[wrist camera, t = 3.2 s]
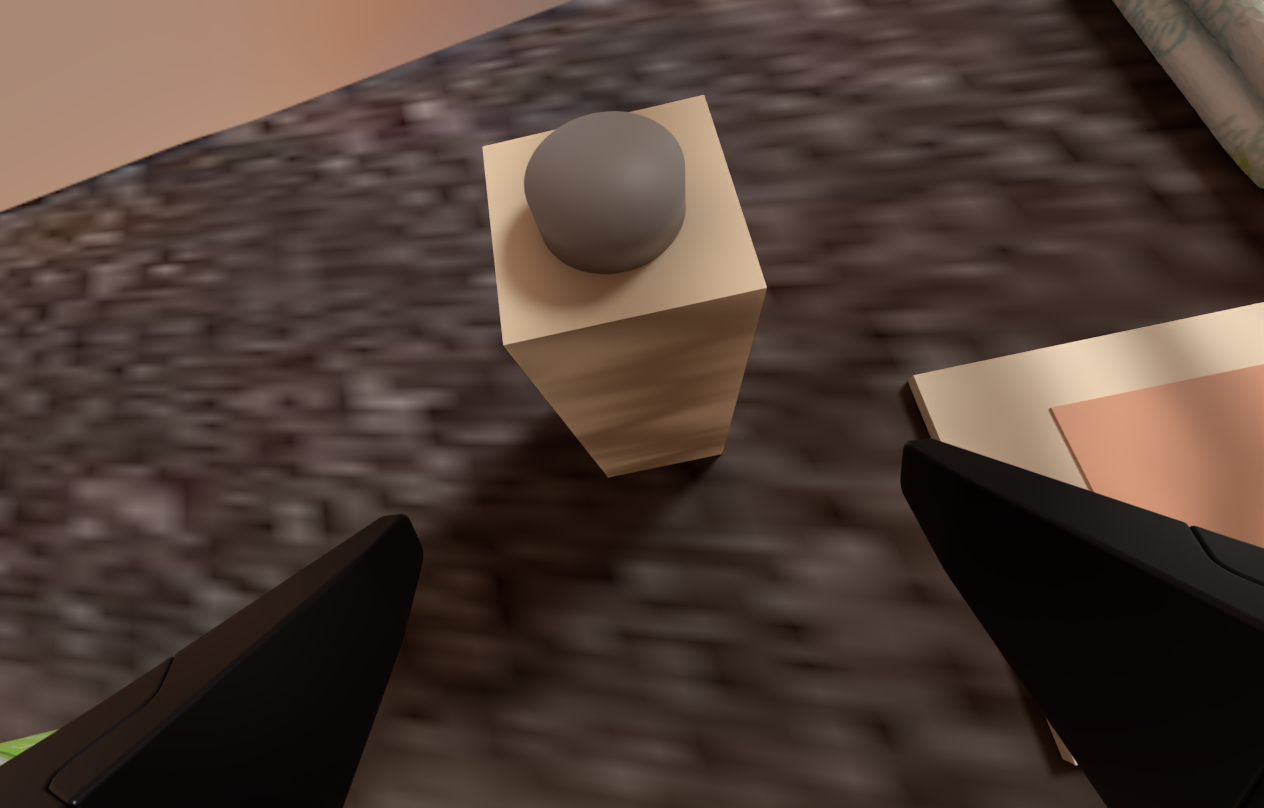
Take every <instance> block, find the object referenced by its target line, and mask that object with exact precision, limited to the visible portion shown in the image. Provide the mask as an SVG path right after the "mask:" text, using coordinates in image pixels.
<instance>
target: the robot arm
mask: <svg viewBox="0 0 1264 808" xmlns="http://www.w3.org/2000/svg"><path fill="white" fill-rule="evenodd" d="M900 483H901V489H902V492H903V494H904V497H905V498H906V500H907V502H908V504H909V506H910V508H911V510H912V511H913V513H914V515H915V517H916V519H917V521H918V523H919V525H920V526H921V528H922V530H923V532H924V534H925V536H926V538H927V539H928V541H929V543H930V545H931V547H932V549H933V551H934V553H935V554H936V556H937V558H938V560H939V561H940V563H941V565H942V567H943V568H944V570H945V571H946V573H947V575H948V576H949V578H950V579H951V581H952V582H953V584H954V585H955V586H956V588H957V589H958V591H959V592H960V594H961V595H962V597H963V598H964V600H965V601H966V602H967V604H968V605H969V607H970V608H971V610H972V611H973V613H974V614H975V616H976V617H977V618H978V620H979V621H980V623H981V624H982V626H983V627H984V629H985V630H986V632H987V633H988V634H989V636H990V637H991V639H992V640H993V642H994V643H995V645H996V646H997V648H998V649H999V650H1000V652H1001V653H1002V655H1003V656H1004V658H1005V659H1006V661H1007V662H1008V664H1009V665H1010V666H1011V668H1012V669H1013V671H1014V672H1015V674H1016V675H1017V677H1018V678H1019V680H1020V681H1021V682H1022V684H1023V685H1024V687H1025V688H1026V690H1027V691H1028V693H1029V694H1030V695H1031V697H1032V698H1033V700H1034V701H1035V703H1036V704H1037V706H1038V707H1039V709H1040V710H1041V711H1042V713H1043V714H1044V716H1045V717H1046V719H1047V720H1048V722H1049V723H1050V725H1051V726H1052V727H1053V729H1054V730H1055V732H1056V733H1057V735H1058V736H1059V738H1060V739H1061V741H1062V742H1063V743H1064V745H1065V746H1066V748H1067V749H1068V751H1069V752H1070V754H1071V755H1072V757H1073V758H1074V759H1075V761H1076V762H1077V764H1078V765H1079V767H1080V768H1081V770H1082V771H1083V773H1084V774H1085V775H1086V777H1087V778H1088V780H1089V781H1090V783H1091V784H1092V786H1093V787H1094V789H1095V790H1096V791H1097V793H1098V794H1099V796H1100V797H1101V799H1102V800H1103V802H1104V803H1105V805H1106V806H1107V807H1108V808H1264V548H1262V547H1259V546H1256V545H1253V544H1250V543H1246V542H1243V541H1240V540H1237V539H1234V538H1231V537H1228V536H1225V535H1222V534H1219V533H1216V532H1213V531H1210V530H1207V529H1204V528H1201V527H1198V526H1190V527H1189V526H1188V524H1187V523H1185V522H1183V521H1180V520H1177V519H1173V518H1170V517H1167V516H1164V515H1161V514H1158V513H1155V512H1152V511H1149V510H1146V509H1143V508H1140V507H1137V506H1134V505H1131V504H1128V503H1125V502H1122V501H1119V500H1116V499H1113V498H1110V497H1107V496H1104V495H1101V494H1098V493H1095V492H1092V491H1089V490H1086V489H1083V488H1080V487H1077V486H1074V485H1071V484H1068V483H1065V482H1062V481H1059V480H1056V479H1053V478H1050V477H1047V476H1044V475H1041V474H1038V473H1035V472H1032V471H1029V470H1026V469H1023V468H1020V467H1017V466H1014V465H1011V464H1008V463H1005V462H1002V461H999V460H996V459H993V458H990V457H987V456H984V455H981V454H978V453H975V452H972V451H969V450H966V449H963V448H960V447H957V446H954V445H951V444H948V443H945V442H942V441H939V440H936V439H932V438H926V439H919V440H913V441H908V442H907V443H906V444H905V445H904V448H903V455H902V467H901V479H900ZM422 563H423V549H422V546H421V543H420V541H419V539H418V537H417V534H416V532H415V530H414V528H413V525H412V523H411V521H410V519H409V518H408V517H407V516H406V515H404V514H396V515H389V516H383V517H381V518H379V519H377V520H376V521H374V522H373V523H371V524H370V525H368V526H367V527H365V528H364V529H362V530H361V531H359V532H358V533H356V534H355V535H353V536H352V537H350V538H349V539H347V540H346V541H344V542H343V543H341V544H340V545H338V546H337V547H335V548H334V549H332V550H331V551H329V552H328V553H326V554H325V555H323V556H322V557H320V558H319V559H317V560H316V561H314V562H313V563H311V564H310V565H308V566H307V567H305V568H304V569H302V570H301V571H299V572H298V573H296V574H295V575H293V576H292V577H290V578H289V579H287V580H286V581H284V582H283V583H281V584H280V585H278V586H277V587H275V588H274V589H272V590H271V591H269V592H268V593H266V594H265V595H263V596H262V597H260V598H259V599H257V600H256V601H254V602H253V603H251V604H250V605H248V606H247V607H245V608H244V609H242V610H241V611H239V612H238V613H236V614H235V615H233V616H232V617H230V618H229V619H227V620H226V621H224V622H223V623H221V624H220V625H218V626H217V627H215V628H214V629H212V630H211V631H209V632H208V633H206V634H205V635H203V636H202V637H200V638H199V639H197V640H196V641H194V642H193V643H191V644H190V645H188V646H187V647H185V648H184V649H182V650H181V651H179V652H178V653H177V654H176V655H175V657H171V658H169V659H167V660H166V661H164V662H163V663H161V664H160V665H158V666H157V667H155V668H154V669H152V670H151V671H149V672H148V673H146V674H145V675H143V676H141V677H140V678H138V679H137V680H135V681H134V682H132V683H131V684H129V685H128V686H126V687H125V688H123V689H122V690H120V691H118V692H117V693H115V694H114V695H112V696H111V697H109V698H108V699H106V700H105V701H103V702H102V703H100V704H99V705H97V706H95V707H94V708H92V709H91V710H89V711H87V712H86V713H84V714H83V715H81V716H79V717H78V718H76V719H75V720H73V721H71V722H70V723H68V724H67V725H65V726H63V727H62V728H60V729H59V730H57V731H56V732H54V733H52V734H51V735H49V736H48V737H46V738H44V739H43V740H41V741H39V742H38V743H36V744H35V745H33V746H31V747H30V748H28V749H26V750H25V751H23V752H22V753H20V754H18V755H17V756H15V757H13V758H12V759H10V760H9V761H7V762H5V763H4V764H2V765H1V766H0V808H343V806H344V803H345V801H346V798H347V795H348V792H349V789H350V787H351V784H352V781H353V778H354V776H355V773H356V770H357V767H358V764H359V762H360V759H361V756H362V753H363V750H364V748H365V745H366V742H367V739H368V737H369V734H370V731H371V728H372V725H373V723H374V720H375V717H376V714H377V711H378V709H379V706H380V703H381V700H382V698H383V695H384V692H385V689H386V686H387V684H388V681H389V678H390V675H391V672H392V670H393V667H394V664H395V661H396V659H397V656H398V653H399V650H400V647H401V644H402V641H403V638H404V635H405V631H406V627H407V624H408V620H409V616H410V612H411V607H412V603H413V599H414V595H415V591H416V587H417V583H418V579H419V575H420V571H421V567H422Z"/></svg>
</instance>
